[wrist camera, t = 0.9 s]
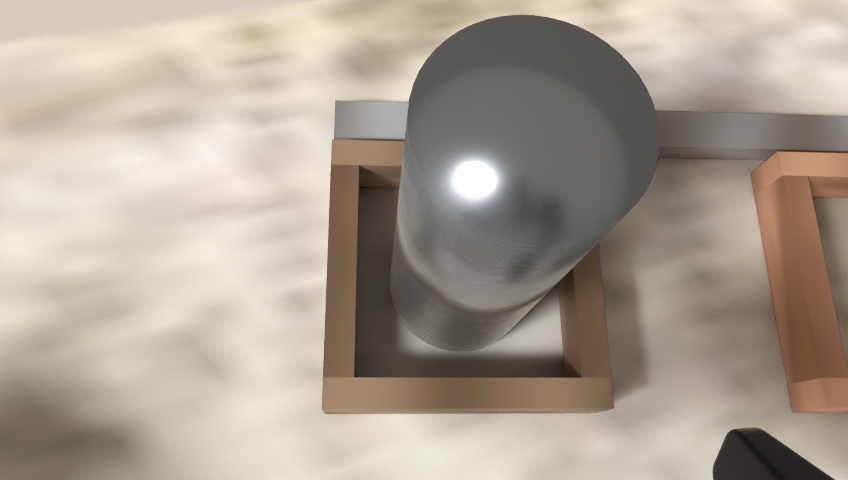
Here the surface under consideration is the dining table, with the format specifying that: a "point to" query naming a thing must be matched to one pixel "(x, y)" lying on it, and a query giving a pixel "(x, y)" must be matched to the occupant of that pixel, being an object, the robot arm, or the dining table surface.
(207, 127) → the dining table surface
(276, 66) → the dining table surface
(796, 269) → the socket rail
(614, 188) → the grey peg
